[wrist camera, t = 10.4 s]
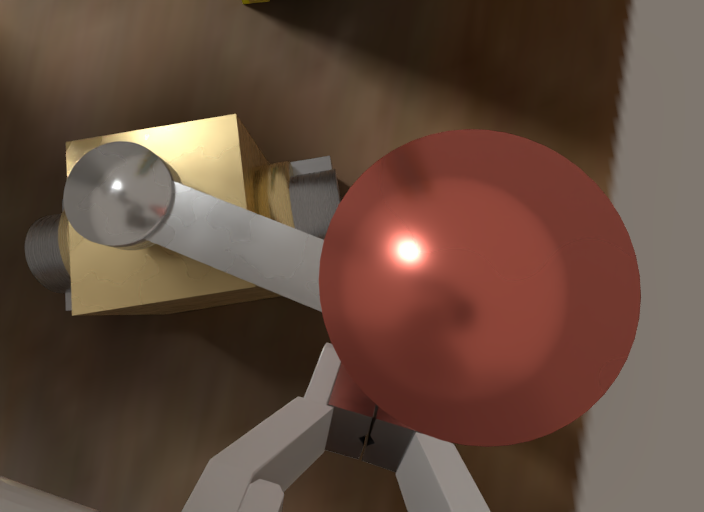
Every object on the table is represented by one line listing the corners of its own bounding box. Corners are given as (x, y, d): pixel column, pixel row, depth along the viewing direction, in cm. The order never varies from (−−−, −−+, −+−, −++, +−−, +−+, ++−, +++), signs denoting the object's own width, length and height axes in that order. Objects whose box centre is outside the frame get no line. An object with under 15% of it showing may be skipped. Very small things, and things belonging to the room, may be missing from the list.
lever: (70, 228, 15) (-739, 5, 4) (114, 141, 15) (-495, -271, 4) (405, 368, 14) (555, 600, 3) (442, 267, 14) (701, 116, 3)
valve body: (103, 324, 23) (-50, 331, 15) (97, 202, 25) (-47, 144, 16) (354, 284, 23) (346, 268, 14) (335, 164, 24) (318, 83, 16)
